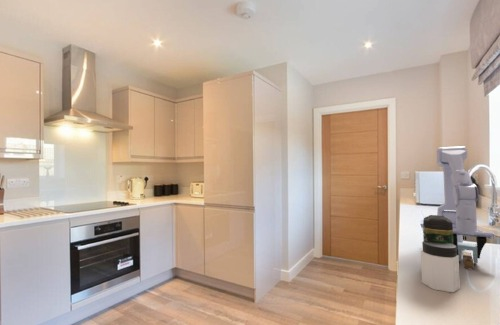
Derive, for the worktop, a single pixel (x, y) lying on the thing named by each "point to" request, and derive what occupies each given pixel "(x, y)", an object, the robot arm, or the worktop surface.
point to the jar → (440, 266)
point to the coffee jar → (437, 229)
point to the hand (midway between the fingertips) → (467, 256)
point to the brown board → (468, 260)
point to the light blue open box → (467, 247)
